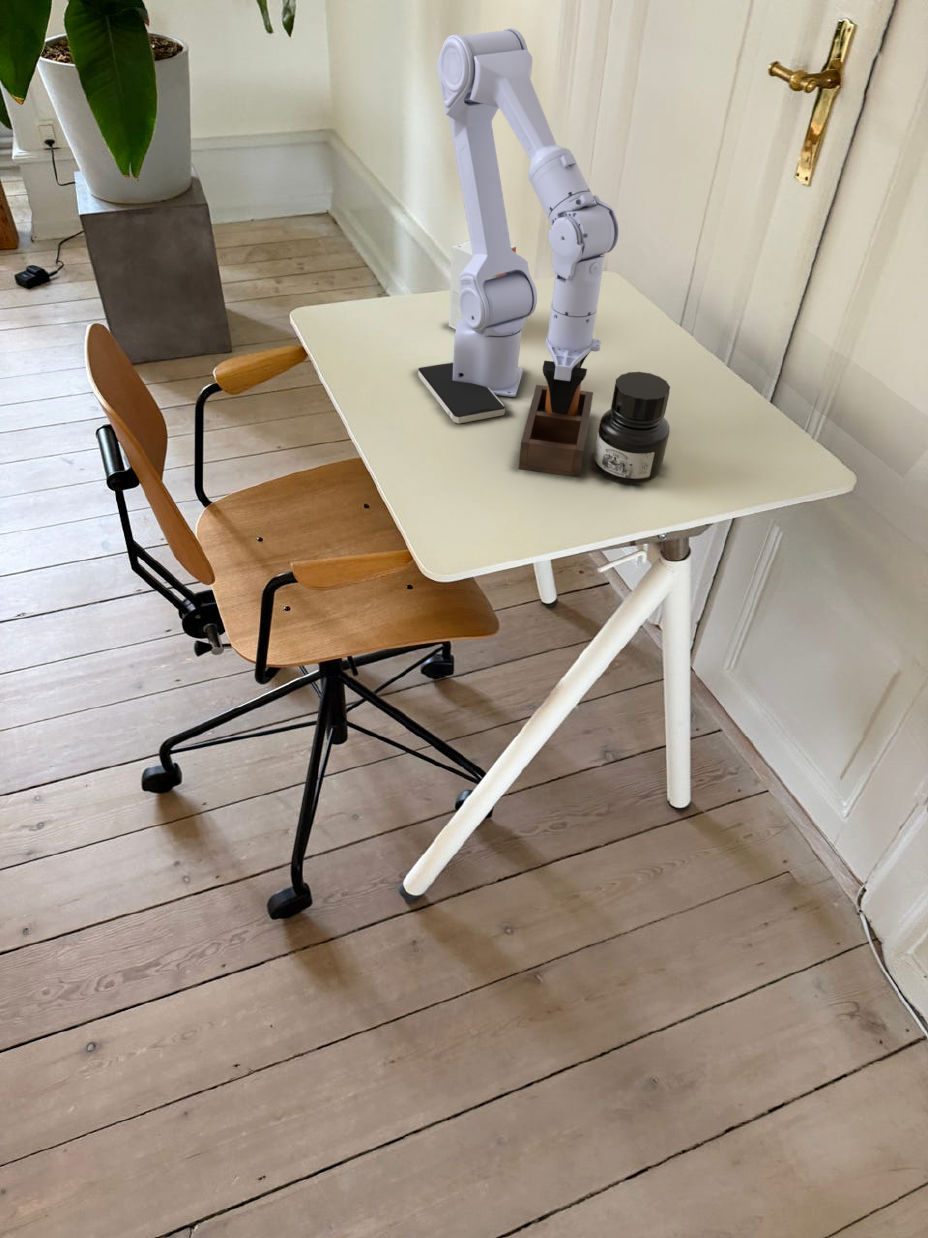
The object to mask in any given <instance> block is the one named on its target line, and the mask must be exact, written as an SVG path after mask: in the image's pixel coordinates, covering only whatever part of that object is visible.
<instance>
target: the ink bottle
mask: <svg viewBox="0 0 928 1238" xmlns="http://www.w3.org/2000/svg"><path fill="white" fill-rule="evenodd" d="M670 390H671V386H670V384H669V382H668V381H667V380H665V379H664V378H662V377H661V376H659V375H656V374H653V373H650V372H644V371H629V372H625V373H623V374H620V375H619V376H618V377H617V378H616V379H615V383H614V388H613V394H612V399H611V405H610V409H608V410H607V411H606V412H604V414H603V415H602V416H601V419H600V422H599V426H598V430H597V437H596V442H595V449H594V455H593V456H594V457H593V465H594V467H595V469H596V470H597V471H598V472H599V473H600V474H601V475H603V476H604V477H605V478H608V479H609V480H612V481H615V482H617V483H621V484H627V485H639V484H641V485H642V484H644V483H648V482H650V481H652V480H654V479H656V477H658V476H659V475H660V473H661V471H662V469H663V468H662V467H663V463H664V458H665V454H666V450H667V446H668V441H669V437H670V430H671V429H670V425H669V422H668V420H667V419H666V418H665V415H666V411H667V406H668V402H669V397H670V393H671V391H670Z"/></svg>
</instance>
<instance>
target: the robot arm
mask: <svg viewBox="0 0 928 1238" xmlns="http://www.w3.org/2000/svg"><path fill="white" fill-rule="evenodd" d="M436 71H437V76H438V80H439V86H440V92H441V97H442V103H443V110H444V114H445V115H446V116H447V117H448V120H449V126H450V127H449V128H450V133H451V138H452V143H453V144H452V145H453V150H454V156H455V161H456V167H457V172H458V178H459V183H460V189H461V195H462V202H463V208H464V212H465V219H466V224H467V230H468V237H469V240H470V242H471V248H472V254H473V257H472V259H471V261H470V262H469V263H468V265H467V266H466V267H465V268H464V270H463V271H462V272H461V274H460V275H459V282H460V299H459V306H460V311H461V315H462V317H463V319H460V320H459V321H458V324H457V328H456V330H455V333H454V342H453V357H452V358H453V360H452V362H453V381H460V382H467V383H473V384H477V385H481V386H484V387H488V388H490V390H491V391H492V392H493V393H494V394H495V395H496V396H502V397H511V398H515V397H516V396H517V393H518V390H519V387H520V382H521V379H522V376H523V373H524V369H522V368H520V367H519V363H520V351H521V339H522V331H523V326H526V325H527V320H528V317H531V315H532V314H534V312H535V311H536V308H537V304H538V291H537V287H536V284H535V282H534V281H533V279H532V276H531V273H530V269H529V263H528V261H527V260H526V259H525V258H523V257H522V255H519V254H518V253H517V252H516V253H515V252H514V251H512V250H511V245H512V243H511V238H510V232H509V225H508V219H507V213H506V206H505V201H504V200H505V199H504V194H503V187H502V181H501V175H500V169H499V161H498V155H497V149H496V142H495V137H494V136H495V135H494V131H493V123H492V122H493V120H494V117H495V115H496V114H497V112H498V110H500V111H501V113H502V115H503V116H504V118H505V119H506V121H507V123H508V125H509V127H510V128H511V130H512V132H513V134H514V135H515V137H516V138H517V140H518V141H519V143H520V145H521V146H522V148H523V150H524V152H525V153H526V155H527V156H528V158H529V161H530V165H529V168H528V173H527V178H528V180H529V182H530V184H531V186H532V188H533V190H534V193H535V194H536V196H537V198H538V201H539V203H540V205H541V207H542V209H543V211H544V213H545V215H546V217H547V220H548V221H549V223H550V225H551V228H550V229H548V243H549V247H550V250H551V253H552V260H551V267H552V271H553V272H554V279H553V287H552V289H553V290H552V297H551V306H550V314H549V324H548V332H547V335H546V338H545V346H546V349H547V350H548V352H549V354H550V357H551V359H552V361H551V360H544V361H543V364H542V374H543V376H544V378H545V380H546V383H547V386H548V387H549V393H550V404H551V410H552V413H558V414H565V415H566V414H567V413H568V411H569V409H570V406H571V403H572V400H573V397H574V394H575V392H576V390H577V388H578V386H579V385H580V383H581V384H582V382H583V381H584V380H585V378H586V376H587V373H588V368H584V367H582V366H583V364H584V362H585V360H586V359H587V357H588V356H589V354H590V353H591V352H599V351H600V350H601V344H602V341H601V340H600V339H595V338H594V332H595V324H596V317H597V311H598V304H599V296H600V290H601V284H602V278H603V277H602V276H603V271H604V263H605V257H606V256H605V254H608V253H610V252H612V251H613V250H614V249H615V247H616V245H617V242H618V239H619V233H620V232H619V223H618V219H617V217H616V214H615V211H614V209H613V207H612V206H611V205H609V204H608V203H606V202H604V201H602V200H601V199H600V198H599V195H596V194H595V195H593V193H592V191H591V189H590V187H589V185H588V183H587V181H586V179H585V177H584V174H583V173H582V171H581V169H580V167H579V165H578V163H577V160H576V158H575V156H574V154H573V153H572V151H571V150H570V149H569V148H567V147H564V146H560V145H557V143H556V139H555V138H554V135H553V133H552V130H551V127H550V125H549V122H548V120H547V117H546V115H545V112H544V110H543V107H542V105H541V103H540V100H539V97H538V95H537V93H536V89H535V87H534V84H533V83H532V80H531V77H532V73H533V56H532V54H531V52H530V51H529V49H528V46H527V42H526V41H525V37H524V36H523V35H522V33H521V32H520V31H519V30H518V29H516V28H512V27H511V28H506V29H503V30H499V31H497V30H496V31H489V32H480V33H473V34H464V35H463V34H462V35H460V34H452V35H450V36H448V37H447V38H445V41H444V42H443V45H442V47H441V49H440V53H439V55H438V59H437V61H436ZM502 273H505V274H506V275H504V276H500V277H496V278H492V279H488V280H486V279H487V278H489V277H491V276H494V275H498V274H502ZM579 361H580V368H577V367H574V366H575V365H576V364H577V363H578V362H579ZM460 373H463V374H464V376H460V375H459V374H460Z"/></svg>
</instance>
